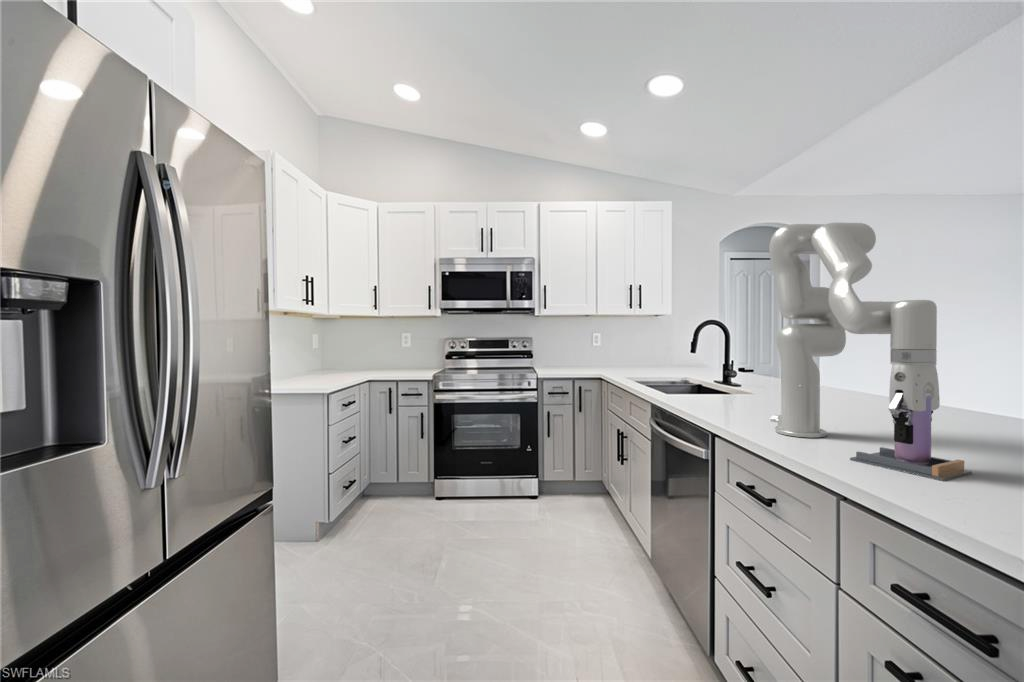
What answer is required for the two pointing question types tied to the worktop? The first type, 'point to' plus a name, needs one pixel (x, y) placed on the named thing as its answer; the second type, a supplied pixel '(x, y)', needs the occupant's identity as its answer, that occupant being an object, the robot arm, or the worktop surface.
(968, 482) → the worktop surface
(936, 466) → the dock
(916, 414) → the beverage can
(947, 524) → the worktop surface
